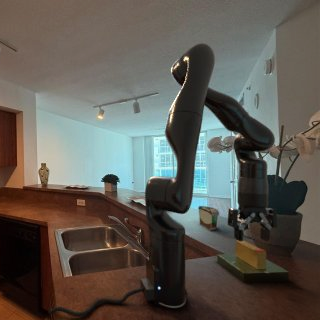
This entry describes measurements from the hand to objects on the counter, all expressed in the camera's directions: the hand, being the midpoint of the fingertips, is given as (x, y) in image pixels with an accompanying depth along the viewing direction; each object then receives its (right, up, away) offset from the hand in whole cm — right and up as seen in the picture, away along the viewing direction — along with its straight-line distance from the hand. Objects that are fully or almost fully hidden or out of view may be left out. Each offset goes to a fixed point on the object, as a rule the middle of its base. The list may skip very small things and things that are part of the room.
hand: (251, 240), depth 63 cm
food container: (+13, -10, +39) cm, 42 cm away
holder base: (0, -11, +1) cm, 11 cm away
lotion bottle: (+24, -10, +27) cm, 38 cm away
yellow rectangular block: (0, -8, +1) cm, 8 cm away
